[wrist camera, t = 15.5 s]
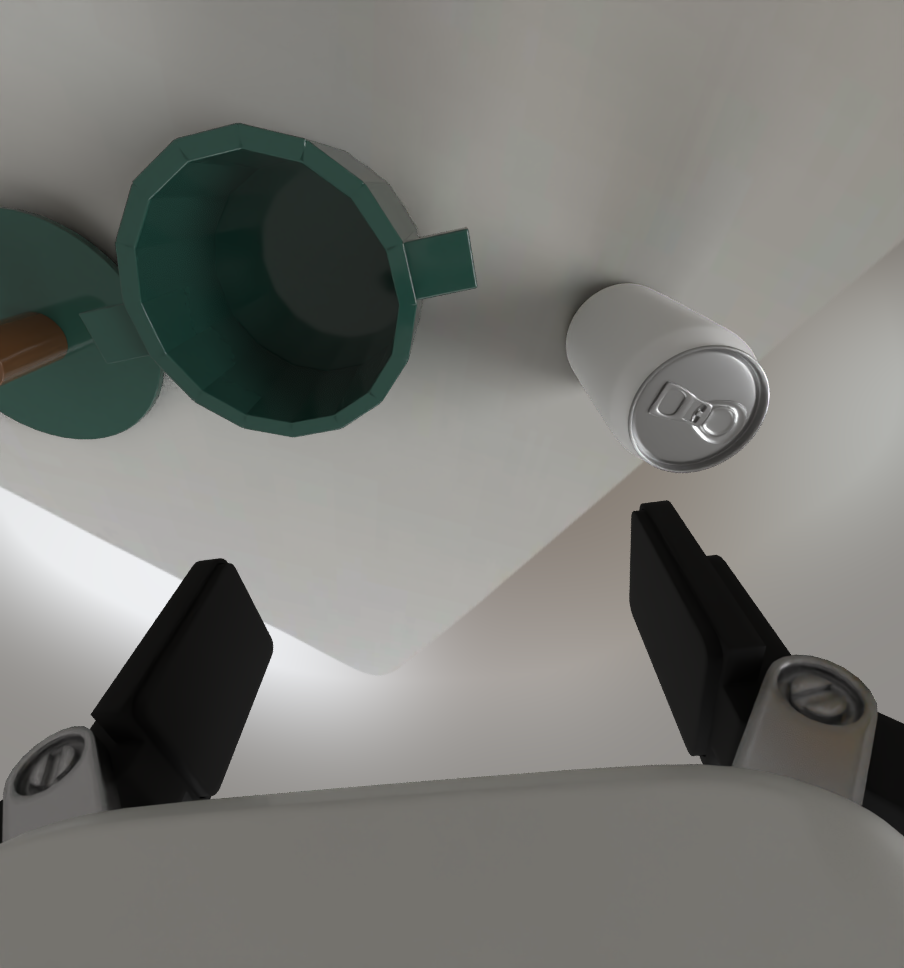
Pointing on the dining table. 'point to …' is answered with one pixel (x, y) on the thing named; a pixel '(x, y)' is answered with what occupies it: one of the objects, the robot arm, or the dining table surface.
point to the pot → (273, 279)
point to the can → (666, 378)
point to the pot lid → (62, 335)
